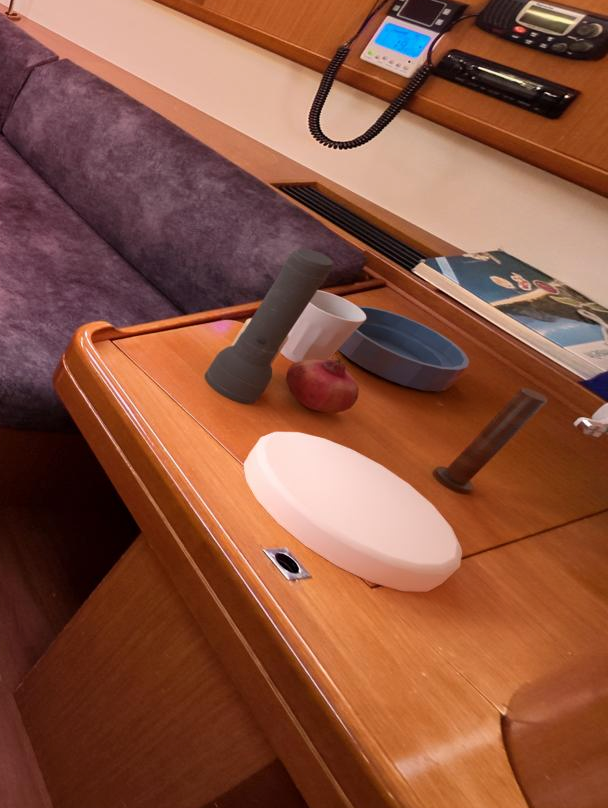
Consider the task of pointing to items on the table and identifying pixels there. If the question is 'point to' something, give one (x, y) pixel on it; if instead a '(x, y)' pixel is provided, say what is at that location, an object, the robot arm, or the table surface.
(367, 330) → the bowl
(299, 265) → the flashlight
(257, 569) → the table surface
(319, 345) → the cup
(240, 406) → the table surface
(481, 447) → the stick
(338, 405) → the fruit
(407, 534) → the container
